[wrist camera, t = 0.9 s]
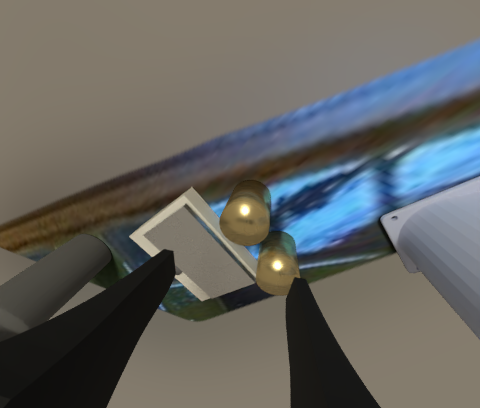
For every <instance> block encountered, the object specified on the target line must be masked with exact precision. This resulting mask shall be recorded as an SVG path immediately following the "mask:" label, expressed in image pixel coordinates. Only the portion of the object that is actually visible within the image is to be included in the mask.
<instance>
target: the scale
mask: <svg viewBox="0 0 480 408" xmlns="http://www.w3.org/2000/svg"><path fill="white" fill-rule="evenodd" d="M185 203H187V205H188V206H189V207H190V208H191V209H192V210H193V211H194V212H195V213H196V214H197V215H198V216H199V218H200V219H201V220H202V221H203V222H204V223H205V224H206V225H207V226H208V227H209V228H210V229H211V231H212V232H213V233H214V234H215V235H216V236H217V237H218V238H219V239H220V240H221V241H222V242H223V244H224V245H225V246H226V247H227V248H228V249H229V250H230V251H231V252H232V253H233V254H234V255H235V257H236V258H237V259H238V260H239V261H240V262H241V263H242V264H243V265H244V266H245V267H246V268H247V270H248V271H249V272H250V273H251V274H252V275H253V276H254V277H255V278H256V272H257V264H258V261H257V260H256V259H255V258H254V257H253V256H252V254H251V253H250V252H249V251H248V250H247V249H246V248H245V246H243V245H238V244H235V243H233V242H231V241H230V240H228V239H227V238H226V237H225V236H224V235H223V233H222V231H221V229H220V225H219V220H220V218H219V217H218V216H217V215H216V214H215V212H214V211H213V210H212V209H211V208H210V207H209V206H208V204H207V203H206V202H205V201H204V200H203V199H202V198H201V196H200V195H199V194H198V193H197V192H196V191H195V190H194V189H193V187H191V188H190V189H189V190H188V191H186V192H185V193H184V194H182V195H181V196H180V197H178V198H177V199H176V200H174V201H173V202H172V203H171V204H169V205H168V206H167V207H165V208H164V209H163V210H161V211H160V212H159V213H157V214H156V215H155V216H154V217H152V218H151V219H150V220H148V221H147V222H146V223H144V224H143V225H142V226H140V227H139V228H138V229H137V230H136V231H135V232H134V233H133V234H131V235H130V236H129V237H130V238H131V239H133V240H134V241H135V242H136V243H137V244H138V245H139V246H140V247H142V248H143V249H144V250H145V251H146V252H147V253H148V254H149V255H150V256H152V257H154V256H155V255H156V254H158V253H159V252H160V251H159V250H158V249H157V248H156V247H155V246H154V245H153V244H152V243H151V242H150V241H149V240H148V239H146V238H145V237H144V236H143V235H144V234H145V233H146V232H147V231H148V230H150V229H151V228H152V227H154V226H155V225H156V224H158V223H159V222H161V221H162V220H163V219H165V218H166V217H168V216H169V215H170V214H172V213H173V212H174V211H176V210H177V209H179V208H180V207H181V206H183V205H184V204H185ZM175 269H176V275H175V278H176V279H177V280H178V281H180V282H181V283H182V284H183V285H184V286H185V287H186V288H187V289H189V290H190V291H191V292H192V293H193V294H194V295H195V296H196V297H198V298H199V299H200V300H201V301H204V300H206V299H209V298H211V297H209V296H208V295H207V294H206V293H205V292H204V291H203V290H202V289H201V288H200V287H199V286H197V285H196V284H195V283H194V282H193V281H192V280H191V279H190V278H189V277H188V276H187V275H186V274H184V273H183V272H182V271H181V270H180V269H179V268H178V267H177V266H176V265H175ZM255 282H256V281H255Z"/></svg>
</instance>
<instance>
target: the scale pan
mask: <svg viewBox="0 0 480 408" xmlns="http://www.w3.org/2000/svg"><path fill="white" fill-rule="evenodd" d="M143 236H144V237H145V238H146V239H148V240H149V241H150V242H151V243H152V244H153V245H154V246H155V247H156V248H157V249H158V250H159V251H162V250H163V249H167V250H172V251H174V259H175V265H176V266H177V267H178V268H179V269H180V270H181V271H182V272H183V273H184V274H186V275H187V276H188V277H189V278H190V279H191V280H192V281H193V282H194V283H195V284H196V285H197V286H199V287H200V288H201V289H202V290H203V291H204V292H205V293H206V294H207V295H208V296H209V297H211V298H215V297H218V296H221V295H223V294H226V293H229V292H232V291H235V290H237V289H240V288H243V287H246V286H248V285H251V284H254V283H255V281H256V278H255V277H254V276H253V275H252V274H251V273H250V272H249V271H248V270H247V268H246V267H245V266H244V265H243V264H242V263H241V262H240V261H239V260H238V259H237V258H236V257H235V255H234V254H233V253H232V252H231V251H230V250H229V249H228V248H227V247H226V246H225V245H224V244H223V242H222V241H221V240H220V239H219V238H218V237H217V236H216V235H215V234H214V233H213V232H212V231H211V229H210V228H209V227H208V226H207V225H206V224H205V223H204V222H203V221H202V220H201V219H200V218H199V216H198V215H197V214H196V213H195V212H194V211H193V210H192V209H191V208H190V207H189V206H188V205H187V203H185V204H184V205H183V206H181V207H180V208H179V209H177V210H176V211H174V212H173V213H172V214H170V215H169V216H168V217H166V218H165V219H163V220H162V221H161V222H159V223H158V224H156V225H155V226H154V227H152V228H151V229H150V230H148V231H147V232H146V233H145V234H144V235H143Z"/></svg>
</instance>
